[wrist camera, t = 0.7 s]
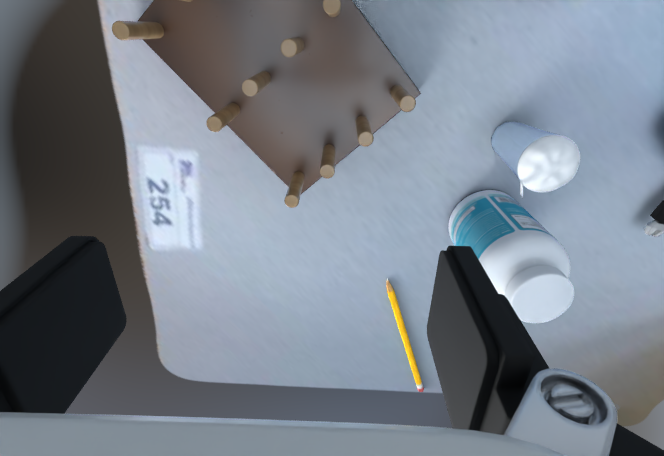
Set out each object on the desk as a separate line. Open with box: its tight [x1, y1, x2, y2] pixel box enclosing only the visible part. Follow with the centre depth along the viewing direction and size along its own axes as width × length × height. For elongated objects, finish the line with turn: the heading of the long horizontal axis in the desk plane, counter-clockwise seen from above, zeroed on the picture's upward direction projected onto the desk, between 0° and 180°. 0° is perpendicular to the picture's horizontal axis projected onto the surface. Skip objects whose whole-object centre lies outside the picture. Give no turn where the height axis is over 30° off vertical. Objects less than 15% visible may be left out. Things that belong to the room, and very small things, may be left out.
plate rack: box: [112, 0, 421, 208], centre depth 31 cm, size 15×20×7 cm
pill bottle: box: [449, 190, 574, 323], centre depth 35 cm, size 8×7×14 cm
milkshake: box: [491, 122, 580, 198], centre depth 32 cm, size 4×5×10 cm
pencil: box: [387, 279, 424, 392], centre depth 48 cm, size 1×19×1 cm, turn 18°
